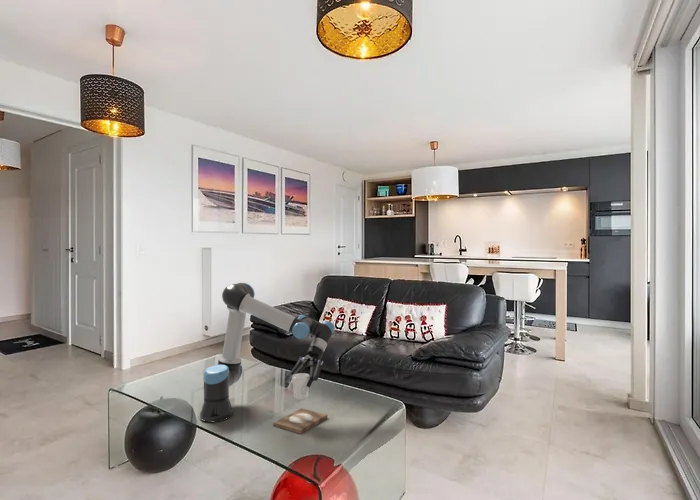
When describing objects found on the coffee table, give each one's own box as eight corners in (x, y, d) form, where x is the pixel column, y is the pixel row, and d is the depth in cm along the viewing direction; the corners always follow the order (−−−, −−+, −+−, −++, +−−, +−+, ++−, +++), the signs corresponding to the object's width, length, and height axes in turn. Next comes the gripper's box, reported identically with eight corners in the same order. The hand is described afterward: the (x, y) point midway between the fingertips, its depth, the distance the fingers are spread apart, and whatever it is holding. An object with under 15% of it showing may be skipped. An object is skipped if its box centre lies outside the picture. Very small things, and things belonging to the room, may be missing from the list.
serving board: (300, 433, 166) (300, 430, 166) (273, 425, 174) (273, 422, 174) (327, 417, 183) (327, 414, 183) (301, 411, 191) (301, 407, 191)
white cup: (310, 393, 183) (309, 372, 183) (308, 399, 175) (308, 377, 175) (293, 394, 183) (293, 373, 183) (291, 400, 175) (291, 378, 175)
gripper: (337, 355, 187) (317, 399, 173) (304, 351, 198) (283, 391, 184) (330, 347, 183) (310, 390, 168) (297, 342, 193) (275, 383, 179)
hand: (296, 391), depth 176 cm, fingers closed on white cup, 8 cm apart
